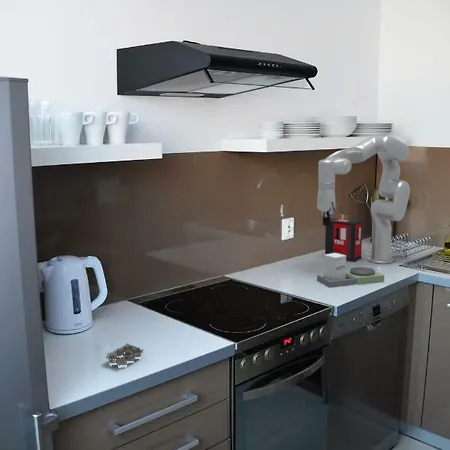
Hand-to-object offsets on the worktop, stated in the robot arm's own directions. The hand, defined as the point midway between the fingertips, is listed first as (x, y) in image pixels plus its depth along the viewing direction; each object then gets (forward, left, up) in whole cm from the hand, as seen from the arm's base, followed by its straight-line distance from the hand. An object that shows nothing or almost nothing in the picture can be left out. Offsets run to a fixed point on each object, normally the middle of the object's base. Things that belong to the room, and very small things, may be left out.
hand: (326, 225), depth 261 cm
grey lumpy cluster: (+104, +69, -24) cm, 127 cm away
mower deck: (-4, +15, -23) cm, 28 cm away
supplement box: (+4, +15, -23) cm, 28 cm away
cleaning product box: (-22, -23, -24) cm, 39 cm away
